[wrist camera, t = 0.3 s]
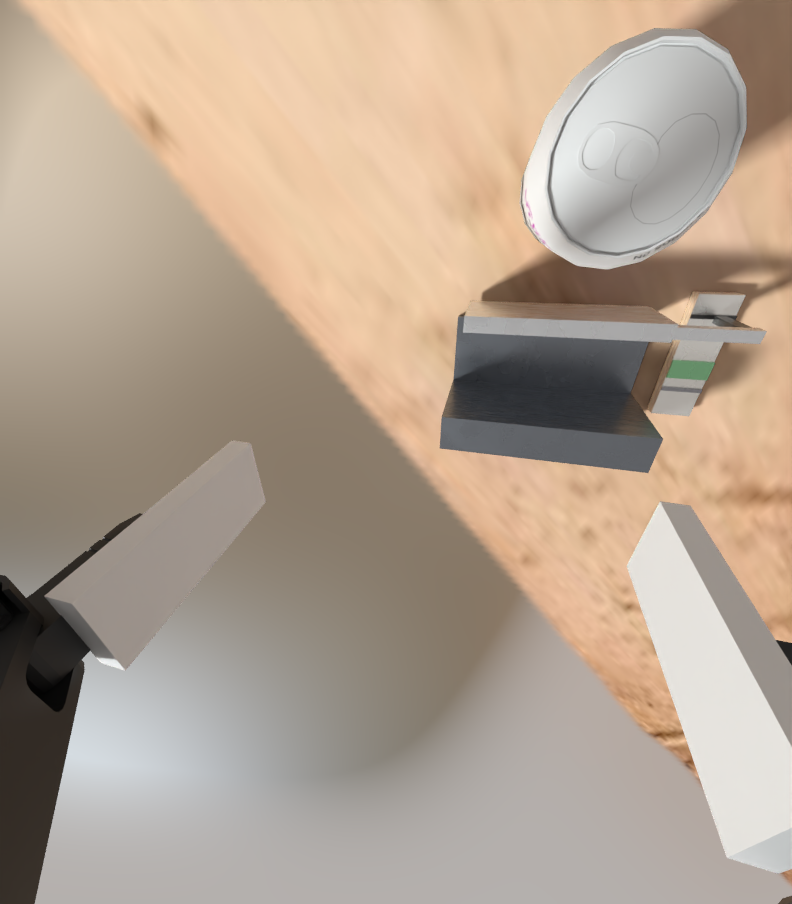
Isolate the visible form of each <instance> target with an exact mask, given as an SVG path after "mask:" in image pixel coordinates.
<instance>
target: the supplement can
mask: <svg viewBox="0 0 792 904" xmlns="http://www.w3.org/2000/svg"><path fill="white" fill-rule="evenodd" d="M746 128H747V105H746V86H745V83H744V81H743V79H742V77H741V75H740V73H739V71H738V69H737V67H736V65H735V63H734V61H733V59H732V56H731V54H730V52H729V50H728V49H727V48H725V47H723V46H722V45H720V44H719V43H717V42H715V41H714V40H712V39H711V38H709V37H707V36H706V35H704V34H703V33H701V32H699V31H698V30H696V29H662V28H654V29H652V30H649V31H647V32H644V33H642V34H639V35H637V36H635V37H632V38H630V39H627V40H625V41H622V42H620V43H617V44H615V45H613V46H611V47H610V48H608V49H607V50H606V51H605V52H604V53H603V54H601V55H600V56H599V57H598V58H597V59H595V60H594V61H593V62H592V63H591V64H589V65H588V66H587V67H586V68H585V69H583V70H582V71H581V72H580V73H579V74H578V75H576V76H575V77H574V78H573V80H572V81H571V83H570V84H569V85H568V87H567V88H566V90H565V91H564V93H563V94H562V95H561V97H560V98H559V100H558V101H557V103H556V104H555V105H554V107H553V108H552V110H551V111H550V113H549V114H548V115H547V117H546V119H545V122H544V124H543V127H542V129H541V131H540V134H539V136H538V139H537V141H536V144H535V146H534V148H533V151H532V153H531V156H530V158H529V161H528V164H527V166H526V169H525V172H524V174H523V177H522V180H521V192H520V207H521V211H522V215H523V219H524V223H525V225H526V226H527V227H528V229H529V230H530V232H531V233H532V234H533V236H534V237H535V239H537V240H538V241H539V242H540V243H542V244H543V245H544V246H546V247H547V248H548V249H550V250H551V251H552V252H554V253H556V254H557V255H559V256H561V257H562V258H564V259H566V260H568V261H569V262H571V263H573V264H574V265H576V266H582V267H590V268H598V269H612V268H616V267H620V266H625V265H629V264H634V263H638V262H641V261H643V260H645V259H647V258H648V257H650V256H652V255H654V254H656V253H657V252H659V251H661V250H663V249H665V248H666V247H668V246H670V245H672V244H673V243H675V242H676V241H677V240H678V239H679V238H680V237H681V236H682V235H684V234H685V233H686V232H687V231H688V230H689V229H690V228H691V227H692V226H693V225H694V224H695V223H696V222H697V221H698V220H699V219H700V218H701V217H703V216H704V215H705V214H706V213H707V211H708V210H709V208H710V207H711V205H712V203H713V202H714V200H715V199H716V197H717V196H718V194H719V193H720V191H721V190H722V188H723V186H724V185H725V183H726V182H727V180H728V179H729V177H730V176H731V174H732V171H733V169H734V166H735V163H736V160H737V157H738V153H739V150H740V147H741V144H742V141H743V138H744V135H745V132H746Z"/></svg>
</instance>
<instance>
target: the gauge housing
mask: <svg viewBox="0 0 792 904" xmlns="http://www.w3.org/2000/svg"><path fill="white" fill-rule="evenodd" d="M745 296H746V295H744V294H741V293H738V292H696V291H693V292H692V294H691V297H690V299H689V302H688V304H687V307H686V310H685V312H684V315H683V317H682V320H681V322H680V325H693V326H717V325H715V324H713V323H712V322H713V319H714V317H715V316H728V317H730V318H732V319H734V320H736V318H737V316H736V315H737V313H738V311H739V309H740V306H741V304H742V302H743V300H744V298H745ZM463 326H464V316H459V317H458V328H457V342H456V355H455V369H454V380H453V383H452V386H451V390H450V393H449V396H448V399H447V402H446V405H445V409H444V412H443V415H442V422H441V439H440V448H442V449H450V450H459V451H467V452H476V453H484V454H493V455H501V456H510V457H518V458H527V459H535V460H544V461H552V462H560V463H569V464H577V465H586V466H594V467H603V468H611V469H620V470H628V471H637V472H645V473H648V472H649V470H650V467H651V465H652V463H653V461H654V458H655V456H656V454H657V452H658V449H659V447H660V445H661V443H662V440H663V438H662V437H661V436H660V434H659V433H658V431H657V430H656V428H655V427H654V426H653V424H652V423H651V421H650V420H649V419H648V417H647V416H646V414H645V413H644V411H643V410H642V409H641V407H640V406H639V404H638V403H637V401H636V400H635V399H634V397H633V396H632V394H631V390H632V387H633V385H634V382H635V379H636V376H637V373H638V371H639V368H640V365H641V362H642V359H643V357H644V354H645V351H646V348H647V345H648V343H649V342H646V341H625V340H605V339H585V338H564V337H544V336H524V335H503V334H483V333H463ZM718 327H719V326H718ZM723 343H724V342H708V341H687V340H673V343H672V345H671V348H670V350H669V353H668V355H667V358H666V360H665V363H664V366H663V368H662V371H661V373H660V376H659V378H658V381H657V383H656V386H655V388H654V391H653V394H652V396H651V399H650V401H649V404H648V406H647V408H648V409H649V410H650V412H651V413H658V414H670V415H682V416H689V415H690V413H691V411H692V409H693V407H694V405H695V403H696V400H697V398H698V396H699V394H700V393H701V392H702V388H703V385H704V383H705V381H706V380H707V379H708V377H709V375H710V373H711V371H712V369H713V367H714V365H715V363H714V362H715V360H716V358H717V356H718V353H719V351H720V349H721V347H722V345H723Z"/></svg>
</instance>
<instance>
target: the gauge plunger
mask: <svg viewBox="0 0 792 904" xmlns="http://www.w3.org/2000/svg"><path fill="white" fill-rule="evenodd" d="M712 323H713V324H715V325H717V326H693V325H678V324H677V323H675V322H674V321H672V320H671V319H669V318H667V317H666V316H664V315H663V314H661V313H659V312H658V311H656V310H655V309H653V308H651V307H650V306H627V305H595V304H562V303H529V302H497V301H470V303H469V306H468V308H467V311H466V313H465V316H464V326H463V333H483V334H503V335H524V336H544V337H564V338H585V339H605V340H625V341H646V342H666V343H671V342H672V340H687V341H708V342H729V343H750V344H760V343H761V341H762V339H763V338H764V336H765V334H766V332H767V331H765V330H763V329H760V328H752V327H750V326H747V325H745V324H743V323H741V322H739V321H736V320H734V319H732V318H730V317H728V316H715V317H714V319H713V322H712ZM718 326H719V327H718Z"/></svg>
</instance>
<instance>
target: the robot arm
mask: <svg viewBox="0 0 792 904" xmlns="http://www.w3.org/2000/svg"><path fill="white" fill-rule="evenodd" d="M264 503H265V497H264V493H263V489H262V485H261V482H260V478H259V474H258V470H257V466H256V462H255V459H254V454H253V451H252V447H251V444H250V443H245V442H238V441H231V442H230V443H228V444H227V445H226V446H225V447H223V448H222V449H221V450H220V451H219V452H217V453H216V454H215V455H214V456H213V457H211V458H210V459H209V460H208V461H207V462H205V463H204V464H203V465H202V466H201V467H199V468H198V469H197V470H196V471H194V472H193V473H192V474H191V475H190V476H188V477H187V478H186V479H185V480H184V481H182V482H181V483H180V484H179V485H178V486H176V487H175V488H174V489H173V490H172V491H170V492H169V493H168V494H167V495H166V496H164V497H163V498H162V499H161V500H160V501H158V502H157V503H156V504H155V505H153V506H152V507H151V508H150V509H149V510H147V511H146V512H145V513H144V514H138V515H136V516H134V517H132V518H130V519H128V520H126V521H124V522H122V523H120V524H119V525H118V526H116V527H115V528H114V529H113V530H111V531H110V532H109V533H108V534H106V535H105V536H104V537H103V539H102V540H99V541H98V542H97V543H95V544H94V545H93V546H92V547H90V548H89V551H88V552H87V551H85V552H84V553H83V554H82V555H80V556H79V557H78V558H77V559H75V560H74V561H73V562H72V563H71V564H69V565H68V566H67V567H65V568H64V569H63V570H62V571H60V572H59V573H58V574H57V575H55V576H54V577H53V578H52V579H50V580H49V581H48V582H47V583H45V584H44V585H43V586H42V587H40V588H39V589H38V590H37V591H36V592H34V593H33V594H31V595H30V596H29V597H27V598H25V596H24V595H23V594H22V593H21V592H20V591H19V590H18V589H17V588H16V587H15V585H14V584H13V583H12V582H11V581H10V580H9V579H8V578H7V577H6V576H3V575H0V904H34V903H35V899H36V894H37V889H38V885H39V880H40V875H41V870H42V866H43V861H44V856H45V852H46V847H47V843H48V838H49V833H50V829H51V824H52V819H53V814H54V810H55V805H56V800H57V796H58V791H59V787H60V782H61V777H62V773H63V768H64V763H65V759H66V754H67V749H68V745H69V740H70V735H71V731H72V726H73V721H74V716H75V712H76V707H77V703H78V698H79V693H80V689H81V684H82V679H83V675H84V662H83V661H82V659H83V657H84V656H85V655H86V654H87V653H88V652H89V651H91V652H92V653H93V654H94V655H95V657H96V658H97V659H98V660H99V661H100V662H101V663H103V664H106V665H109V666H112V667H115V668H119V669H122V670H126V669H127V668H128V667H129V666H130V664H131V663H132V662H133V661H134V660H135V658H136V657H137V656H138V655H139V654H140V652H141V651H142V650H143V649H144V648H145V646H146V645H147V644H148V643H149V641H150V640H151V639H152V638H153V637H154V636H155V634H156V633H157V632H158V631H159V630H160V628H161V627H162V626H163V625H164V623H165V622H166V621H167V620H168V619H169V617H170V616H171V615H172V614H173V613H174V611H175V610H176V609H177V608H178V607H179V605H180V604H181V603H182V602H183V601H184V599H185V598H186V597H187V596H188V595H189V593H190V592H191V591H192V590H193V589H194V587H195V586H196V585H197V584H198V583H199V581H200V580H201V579H202V578H203V577H204V575H205V574H206V573H207V572H208V571H209V569H210V568H211V567H212V566H213V564H214V563H215V562H216V561H217V560H218V559H219V557H220V556H221V555H222V554H223V552H224V551H225V550H226V549H227V548H228V546H229V545H230V544H231V543H232V542H233V541H234V539H235V538H236V537H237V536H238V535H239V533H240V532H241V531H242V530H243V529H244V527H245V526H246V525H247V524H248V523H249V521H250V520H251V519H252V518H253V517H254V515H255V514H256V513H257V512H258V511H259V509H260V508H261V507H262V506H263V505H264ZM627 568H628V571H629V574H630V577H631V580H632V583H633V586H634V589H635V591H636V594H637V597H638V600H639V603H640V606H641V609H642V612H643V615H644V618H645V621H646V623H647V626H648V629H649V632H650V635H651V638H652V641H653V644H654V647H655V650H656V653H657V655H658V658H659V661H660V664H661V667H662V670H663V673H664V676H665V679H666V682H667V685H668V687H669V690H670V693H671V696H672V699H673V702H674V705H675V708H676V711H677V714H678V717H679V719H680V722H681V725H682V728H683V731H684V734H685V737H686V740H687V743H688V746H689V749H690V751H691V754H692V757H693V760H694V763H695V766H696V769H697V772H698V775H699V778H700V781H701V783H702V786H703V789H704V792H705V795H706V798H707V801H708V804H709V807H710V809H711V813H712V815H713V818H714V821H715V824H716V827H717V830H718V833H719V836H720V838H721V841H722V845H723V847H724V850H725V853H726V856H727V858H729V859H732V860H735V861H739V862H742V863H745V864H749V865H752V866H755V867H758V868H761V869H764V870H768V871H771V872H774V873H777V874H779V873H781V872H784V871H787V870H790V869H792V643H788V642H783V641H778V640H775V638H774V637H773V635H772V634H771V632H770V631H769V629H768V627H767V626H766V624H765V623H764V621H763V619H762V618H761V616H760V615H759V613H758V612H757V610H756V608H755V607H754V605H753V604H752V602H751V601H750V599H749V597H748V596H747V594H746V593H745V591H744V589H743V588H742V586H741V585H740V583H739V582H738V580H737V578H736V577H735V575H734V574H733V572H732V571H731V569H730V567H729V566H728V564H727V563H726V561H725V559H724V558H723V556H722V555H721V553H720V552H719V550H718V548H717V547H716V545H715V544H714V542H713V541H712V539H711V537H710V536H709V534H708V533H707V531H706V529H705V528H704V526H703V525H702V523H701V522H700V520H699V518H698V517H697V515H696V514H695V512H694V510H693V509H692V507H691V506H689V505H682V504H675V503H667V502H659V504H658V506H657V508H656V510H655V512H654V514H653V516H652V518H651V520H650V522H649V524H648V526H647V528H646V530H645V532H644V533H643V535H642V537H641V539H640V541H639V543H638V545H637V547H636V549H635V551H634V553H633V555H632V557H631V559H630V561H629V563H628V565H627ZM779 904H792V896H790V897H786V898H783V899H782V900H781V901H780V902H779Z"/></svg>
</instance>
